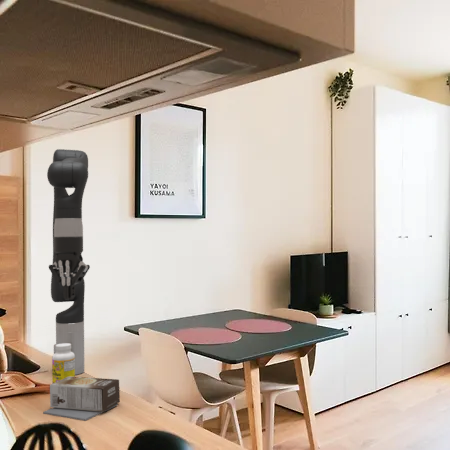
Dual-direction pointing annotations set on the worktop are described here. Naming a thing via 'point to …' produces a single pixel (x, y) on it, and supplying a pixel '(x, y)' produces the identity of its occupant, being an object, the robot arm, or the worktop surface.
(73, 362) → the supplement bottle
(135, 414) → the worktop surface
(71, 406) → the coffee box
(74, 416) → the mat
